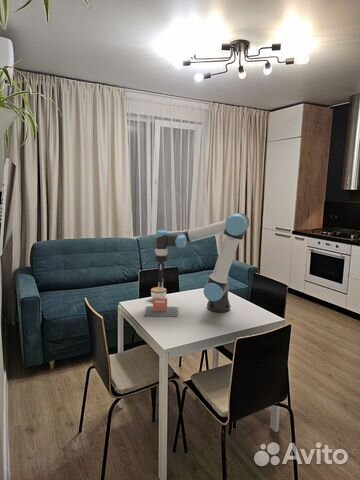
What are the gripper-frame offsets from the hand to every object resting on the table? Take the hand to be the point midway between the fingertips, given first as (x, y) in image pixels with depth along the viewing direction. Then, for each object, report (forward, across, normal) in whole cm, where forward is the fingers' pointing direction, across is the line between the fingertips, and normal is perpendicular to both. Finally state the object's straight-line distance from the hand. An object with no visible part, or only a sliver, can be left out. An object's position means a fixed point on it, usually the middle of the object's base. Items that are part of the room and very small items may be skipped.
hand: (160, 290), depth 209 cm
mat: (+12, +8, +1) cm, 14 cm away
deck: (+11, +6, 0) cm, 13 cm away
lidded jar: (+12, -14, -2) cm, 19 cm away
